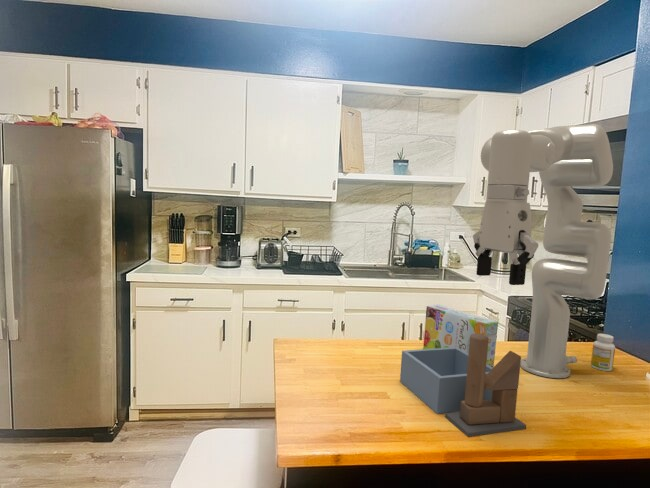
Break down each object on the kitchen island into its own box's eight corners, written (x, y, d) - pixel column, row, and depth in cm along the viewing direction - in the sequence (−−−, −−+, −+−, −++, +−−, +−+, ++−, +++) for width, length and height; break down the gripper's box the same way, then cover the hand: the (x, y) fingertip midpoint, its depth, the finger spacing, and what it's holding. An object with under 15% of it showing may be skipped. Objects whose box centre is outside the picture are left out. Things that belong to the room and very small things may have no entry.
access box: (454, 376, 114) (456, 347, 113) (498, 406, 98) (501, 372, 97) (399, 381, 109) (402, 350, 108) (436, 413, 93) (439, 378, 92)
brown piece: (515, 422, 89) (523, 338, 87) (468, 425, 87) (475, 339, 85) (504, 413, 93) (512, 332, 91) (458, 416, 90) (465, 333, 89)
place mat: (499, 410, 96) (499, 406, 96) (525, 428, 89) (526, 424, 88) (444, 416, 92) (445, 413, 92) (468, 436, 84) (468, 433, 84)
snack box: (494, 375, 116) (499, 320, 115) (481, 379, 113) (486, 323, 112) (434, 350, 134) (437, 303, 132) (421, 353, 130) (425, 304, 129)
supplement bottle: (599, 363, 129) (603, 332, 128) (617, 370, 124) (621, 338, 123) (586, 365, 128) (590, 333, 127) (603, 372, 122) (607, 339, 121)
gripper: (557, 196, 79) (547, 288, 80) (492, 195, 95) (486, 272, 97) (523, 194, 76) (515, 289, 78) (464, 193, 93) (457, 272, 94)
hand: (499, 279), depth 87 cm, fingers open, 9 cm apart
